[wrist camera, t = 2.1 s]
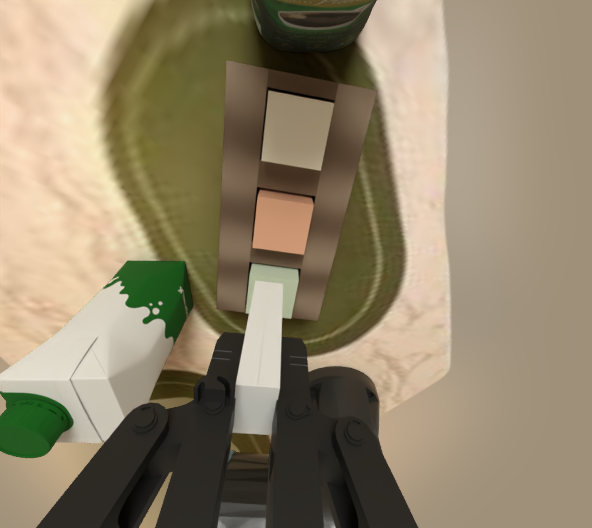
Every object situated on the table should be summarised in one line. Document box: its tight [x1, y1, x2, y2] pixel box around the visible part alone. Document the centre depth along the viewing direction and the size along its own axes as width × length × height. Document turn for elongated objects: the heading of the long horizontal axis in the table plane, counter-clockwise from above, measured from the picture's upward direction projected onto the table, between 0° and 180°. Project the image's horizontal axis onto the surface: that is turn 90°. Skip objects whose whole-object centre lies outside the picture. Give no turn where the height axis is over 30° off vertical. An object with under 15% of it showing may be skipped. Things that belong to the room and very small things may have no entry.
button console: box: [217, 61, 377, 321], centre depth 30 cm, size 24×12×5 cm, turn 171°
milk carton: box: [0, 261, 193, 458], centre depth 28 cm, size 9×9×20 cm
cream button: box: [261, 91, 334, 171], centre depth 24 cm, size 5×5×4 cm
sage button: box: [246, 262, 299, 319], centre depth 32 cm, size 5×5×4 cm
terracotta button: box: [252, 188, 314, 255], centre depth 28 cm, size 5×5×4 cm
